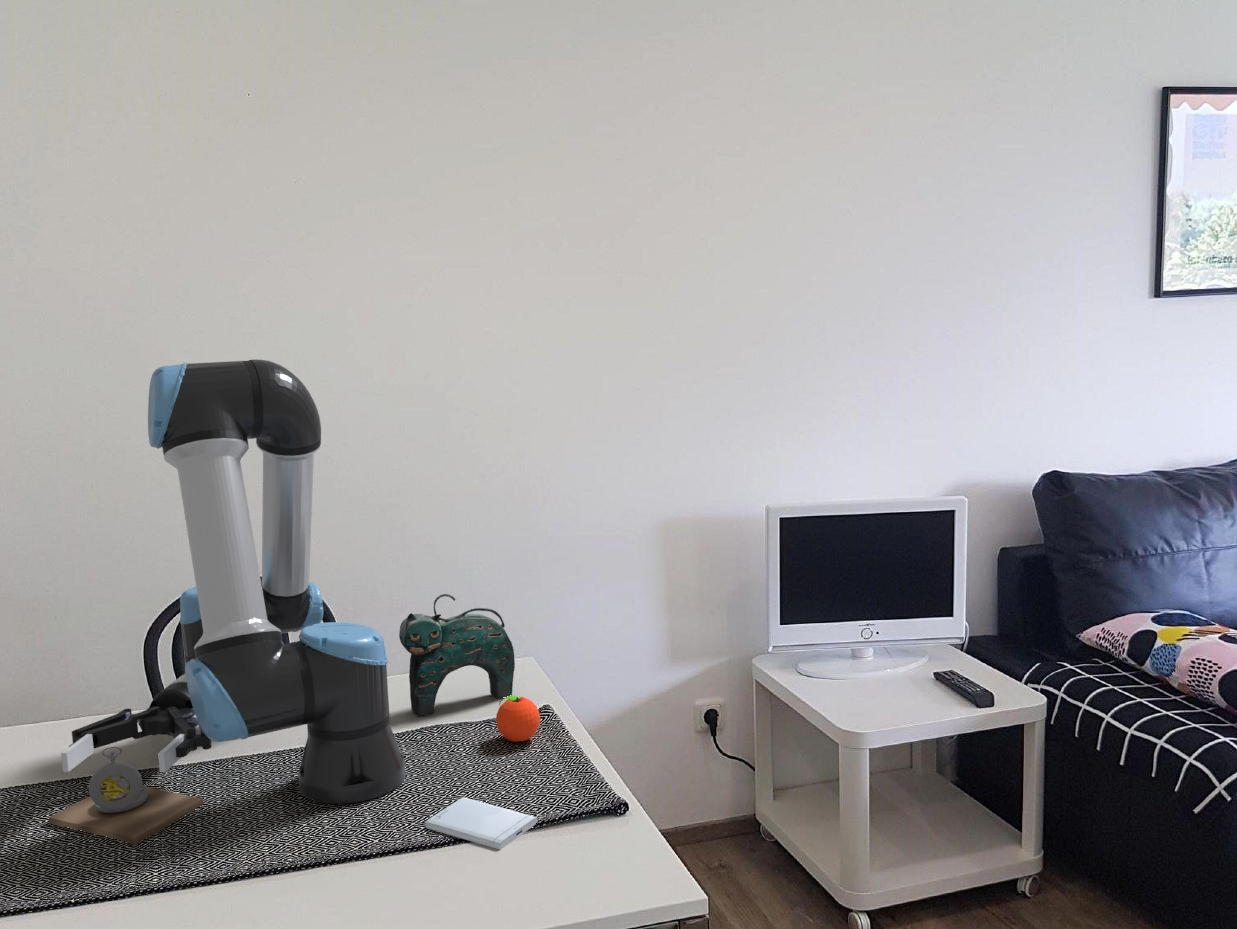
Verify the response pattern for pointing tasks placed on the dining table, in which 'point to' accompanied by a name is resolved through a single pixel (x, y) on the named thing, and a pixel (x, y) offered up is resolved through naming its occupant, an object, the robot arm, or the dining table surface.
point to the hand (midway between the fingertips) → (112, 762)
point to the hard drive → (481, 823)
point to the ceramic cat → (455, 653)
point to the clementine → (517, 718)
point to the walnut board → (128, 816)
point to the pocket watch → (116, 786)
